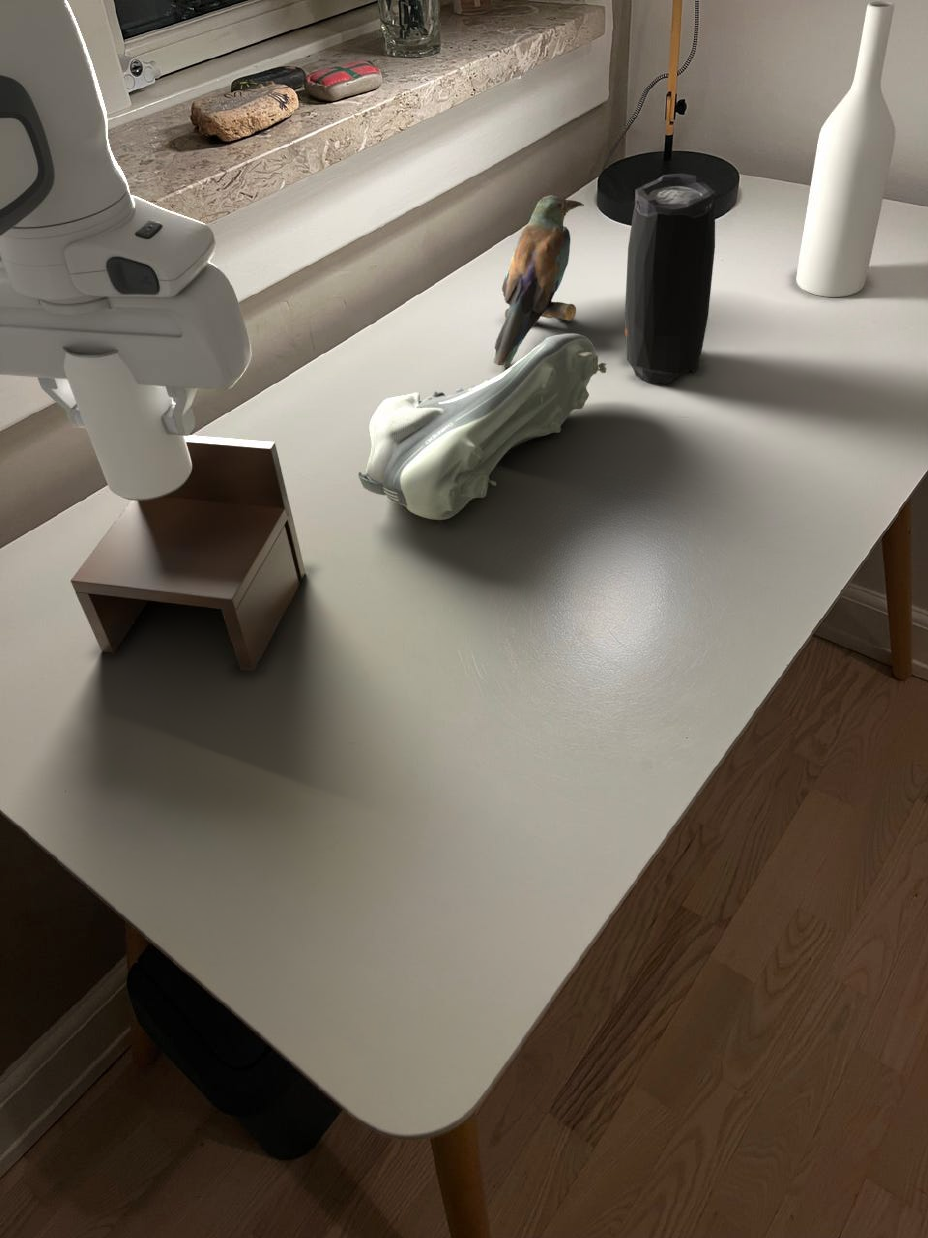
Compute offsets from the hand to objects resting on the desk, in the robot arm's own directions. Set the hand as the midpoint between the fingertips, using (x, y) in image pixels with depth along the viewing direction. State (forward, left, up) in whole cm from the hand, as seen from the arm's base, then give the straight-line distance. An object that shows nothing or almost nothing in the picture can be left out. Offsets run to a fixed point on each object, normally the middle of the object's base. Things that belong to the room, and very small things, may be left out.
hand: (134, 427), depth 76 cm
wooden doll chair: (0, +1, -20) cm, 20 cm away
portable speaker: (+35, +47, -20) cm, 62 cm away
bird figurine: (+20, +54, -20) cm, 61 cm away
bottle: (+53, +69, -20) cm, 89 cm away
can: (0, 0, -5) cm, 5 cm away
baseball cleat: (+18, +29, -20) cm, 40 cm away
